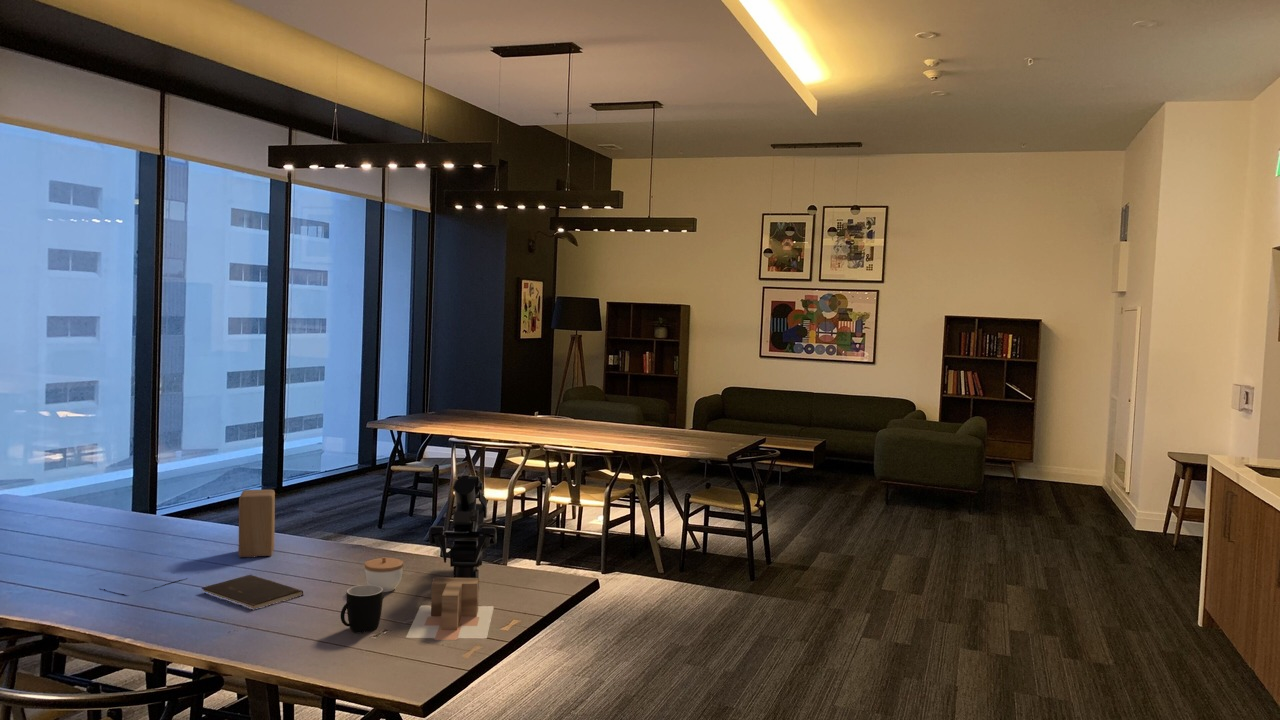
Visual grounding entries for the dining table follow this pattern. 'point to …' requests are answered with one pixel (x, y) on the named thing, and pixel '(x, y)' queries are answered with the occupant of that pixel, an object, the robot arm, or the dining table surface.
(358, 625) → the mug
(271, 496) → the block
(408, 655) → the dining table surface
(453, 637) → the mat
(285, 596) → the hardcover book
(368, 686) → the dining table surface
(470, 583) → the t block
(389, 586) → the lidded jar
